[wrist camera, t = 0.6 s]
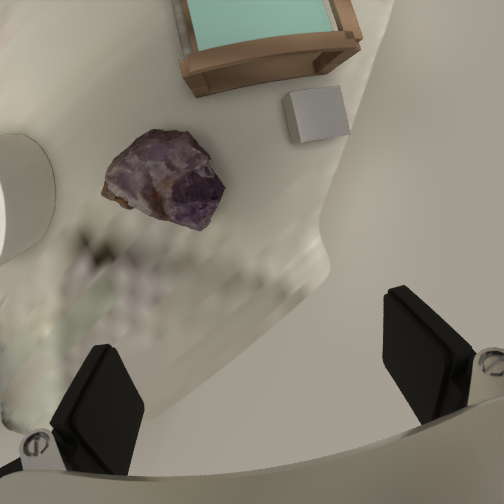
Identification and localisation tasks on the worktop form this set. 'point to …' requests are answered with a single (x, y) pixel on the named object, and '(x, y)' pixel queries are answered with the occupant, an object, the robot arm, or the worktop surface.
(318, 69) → the frame
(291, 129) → the gray cube
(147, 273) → the worktop surface
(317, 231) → the worktop surface
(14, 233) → the toilet paper roll
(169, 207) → the rock
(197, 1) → the trapdoor
